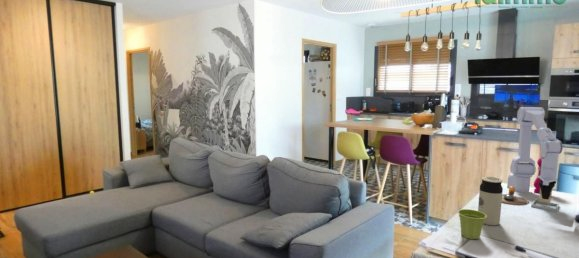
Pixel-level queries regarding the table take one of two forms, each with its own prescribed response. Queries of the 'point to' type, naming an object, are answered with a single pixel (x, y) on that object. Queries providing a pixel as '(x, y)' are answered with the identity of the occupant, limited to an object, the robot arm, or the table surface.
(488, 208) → the travel mug
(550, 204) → the tray
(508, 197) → the crank
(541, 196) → the stop block
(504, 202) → the crank base
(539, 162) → the pepper mill
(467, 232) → the plant pot
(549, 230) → the table surface
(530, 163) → the robot arm
